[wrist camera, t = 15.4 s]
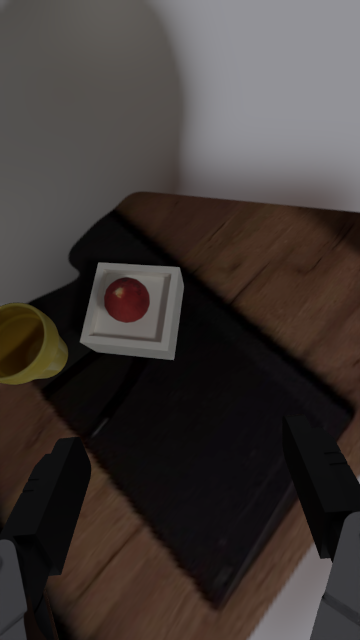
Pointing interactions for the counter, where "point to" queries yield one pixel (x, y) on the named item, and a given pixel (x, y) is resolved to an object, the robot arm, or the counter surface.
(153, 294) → the tray
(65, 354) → the plant pot
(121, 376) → the counter surface
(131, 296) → the onion
